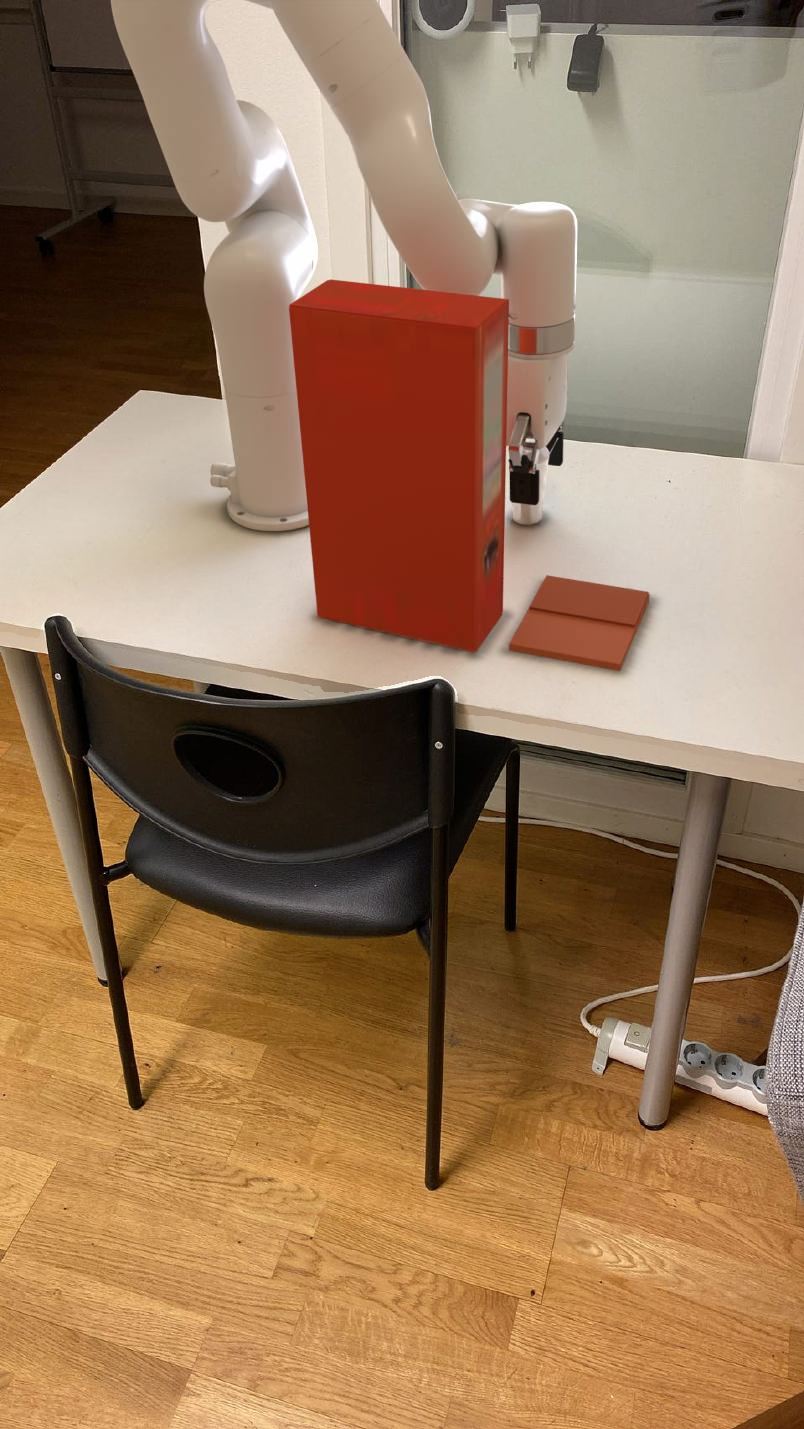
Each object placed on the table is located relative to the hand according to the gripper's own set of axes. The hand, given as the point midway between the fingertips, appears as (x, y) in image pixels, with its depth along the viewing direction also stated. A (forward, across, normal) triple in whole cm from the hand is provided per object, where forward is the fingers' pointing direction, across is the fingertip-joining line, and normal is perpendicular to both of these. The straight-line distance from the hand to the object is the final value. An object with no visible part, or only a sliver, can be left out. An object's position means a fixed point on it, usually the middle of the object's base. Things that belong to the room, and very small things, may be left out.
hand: (537, 482), depth 132 cm
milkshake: (+5, 0, -1) cm, 5 cm away
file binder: (+4, +23, -6) cm, 25 cm away
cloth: (+5, +20, +10) cm, 23 cm away
